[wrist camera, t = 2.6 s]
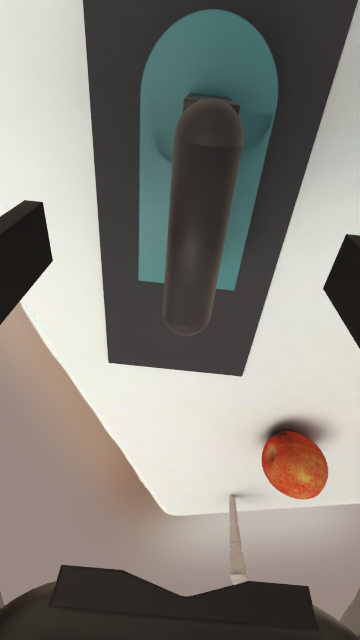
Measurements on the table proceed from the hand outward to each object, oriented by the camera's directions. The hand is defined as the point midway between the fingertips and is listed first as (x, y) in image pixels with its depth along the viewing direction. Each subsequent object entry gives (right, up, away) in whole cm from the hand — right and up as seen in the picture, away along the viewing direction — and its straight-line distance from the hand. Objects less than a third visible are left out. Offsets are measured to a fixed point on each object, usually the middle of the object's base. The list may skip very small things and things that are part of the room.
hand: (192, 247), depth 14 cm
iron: (+1, +9, +9) cm, 13 cm away
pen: (+9, -35, +44) cm, 57 cm away
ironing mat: (0, +4, +14) cm, 14 cm away
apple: (+15, -20, +31) cm, 40 cm away
